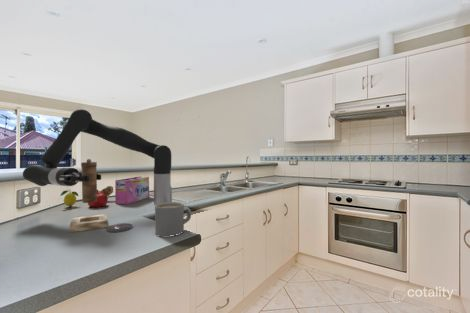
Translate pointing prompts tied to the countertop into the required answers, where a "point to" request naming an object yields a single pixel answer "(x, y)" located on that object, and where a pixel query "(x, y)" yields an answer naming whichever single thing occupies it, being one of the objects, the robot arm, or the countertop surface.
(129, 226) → the coaster
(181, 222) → the coffee mug
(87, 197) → the pepper mill
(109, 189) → the lion figurine
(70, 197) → the lemon
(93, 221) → the holder
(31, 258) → the countertop surface
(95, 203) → the pomegranate
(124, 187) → the gum box
